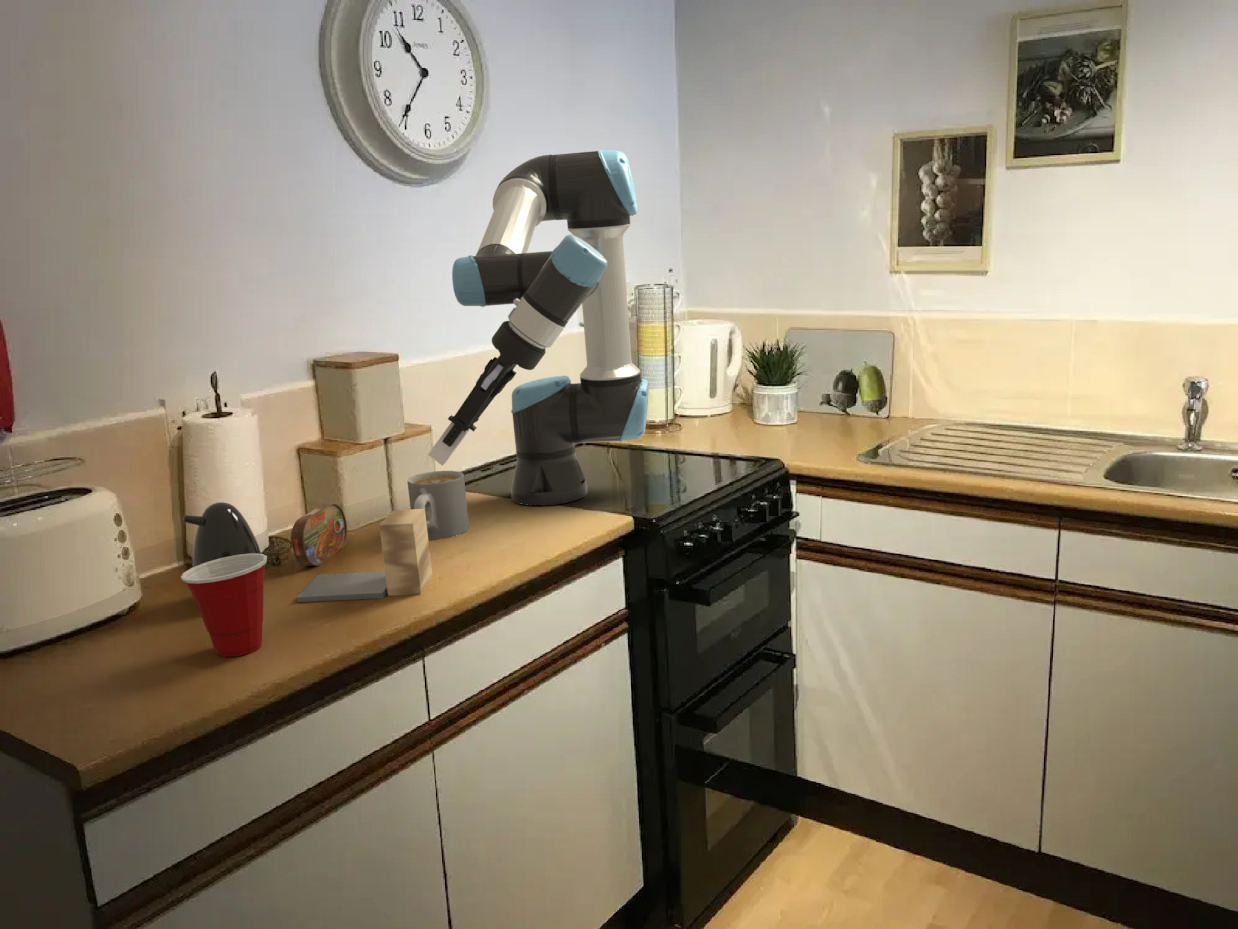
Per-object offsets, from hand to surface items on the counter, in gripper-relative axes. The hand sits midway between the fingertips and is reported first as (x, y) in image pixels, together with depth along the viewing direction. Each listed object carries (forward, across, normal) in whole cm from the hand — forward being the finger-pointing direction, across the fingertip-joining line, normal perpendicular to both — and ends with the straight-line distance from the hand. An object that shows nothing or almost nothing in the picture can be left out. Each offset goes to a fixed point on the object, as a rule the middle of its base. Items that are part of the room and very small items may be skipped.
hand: (436, 459), depth 155 cm
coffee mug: (+21, -25, +6) cm, 33 cm away
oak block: (+18, +2, +8) cm, 20 cm away
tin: (+32, -14, -7) cm, 35 cm away
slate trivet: (+25, +2, +1) cm, 25 cm away
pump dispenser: (+36, +6, -12) cm, 38 cm away
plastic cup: (+29, +25, -4) cm, 39 cm away
